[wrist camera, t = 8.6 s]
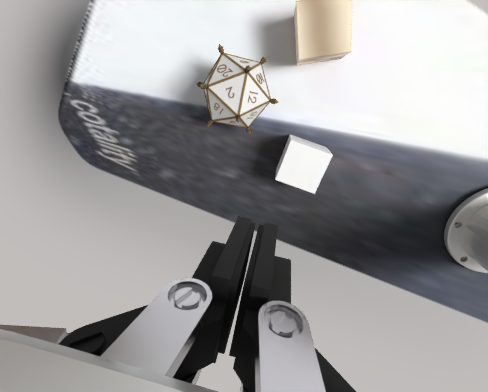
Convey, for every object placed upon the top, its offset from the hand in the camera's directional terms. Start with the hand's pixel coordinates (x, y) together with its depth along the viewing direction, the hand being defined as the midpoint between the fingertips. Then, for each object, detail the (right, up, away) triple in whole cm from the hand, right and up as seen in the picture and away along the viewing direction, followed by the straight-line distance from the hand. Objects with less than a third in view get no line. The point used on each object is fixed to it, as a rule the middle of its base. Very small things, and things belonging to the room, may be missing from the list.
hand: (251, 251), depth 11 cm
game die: (-1, +15, +22) cm, 27 cm away
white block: (+7, +7, +24) cm, 26 cm away
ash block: (+8, +20, +19) cm, 29 cm away
